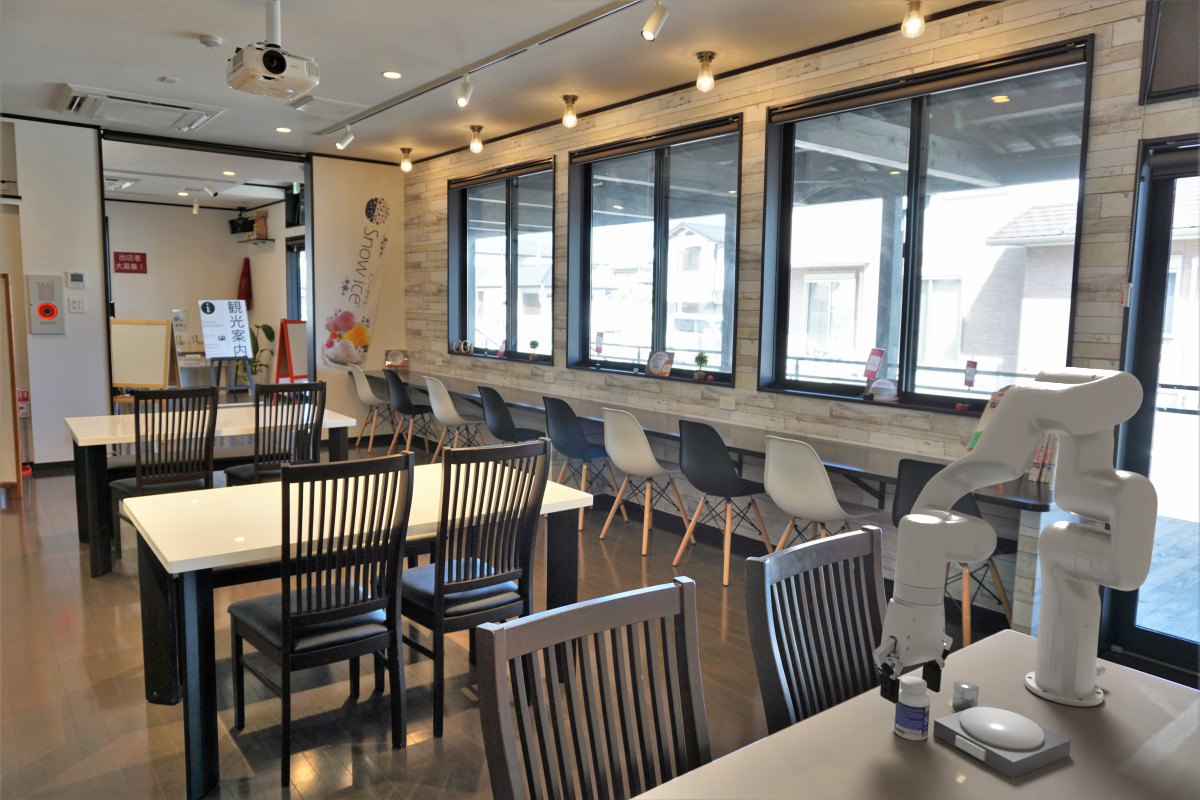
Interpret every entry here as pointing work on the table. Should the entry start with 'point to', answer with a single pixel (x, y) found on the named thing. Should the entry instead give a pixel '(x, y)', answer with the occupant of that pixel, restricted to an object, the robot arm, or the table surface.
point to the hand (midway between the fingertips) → (910, 694)
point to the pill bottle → (912, 709)
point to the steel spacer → (965, 695)
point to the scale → (1002, 739)
